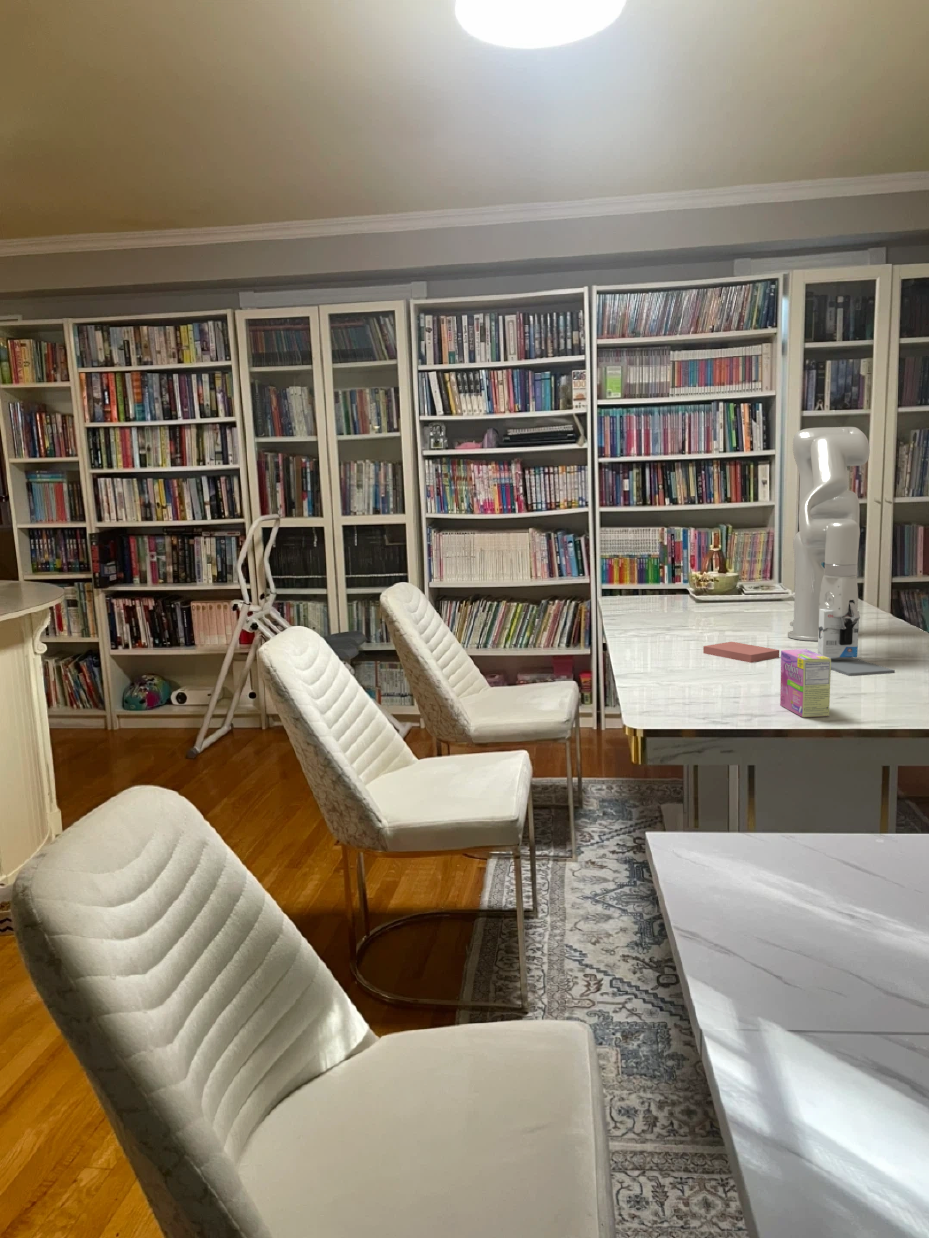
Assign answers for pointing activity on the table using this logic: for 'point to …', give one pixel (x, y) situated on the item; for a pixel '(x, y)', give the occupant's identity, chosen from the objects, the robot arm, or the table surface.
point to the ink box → (834, 636)
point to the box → (805, 682)
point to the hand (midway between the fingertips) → (837, 641)
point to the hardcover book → (741, 651)
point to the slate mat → (856, 666)
